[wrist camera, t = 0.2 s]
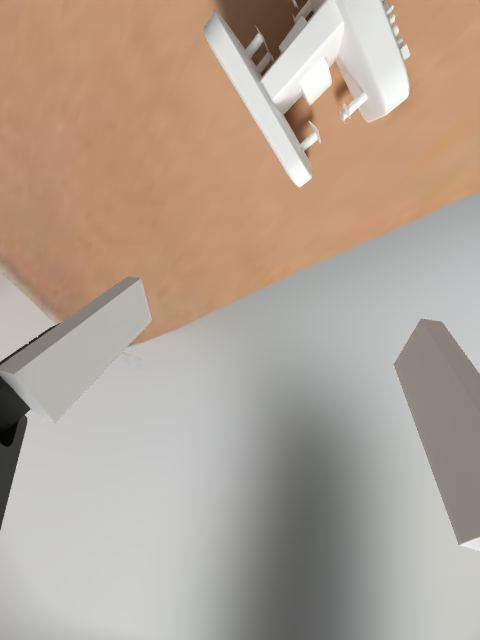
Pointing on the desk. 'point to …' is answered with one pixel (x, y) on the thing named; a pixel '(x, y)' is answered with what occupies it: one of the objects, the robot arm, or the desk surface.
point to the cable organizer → (316, 69)
